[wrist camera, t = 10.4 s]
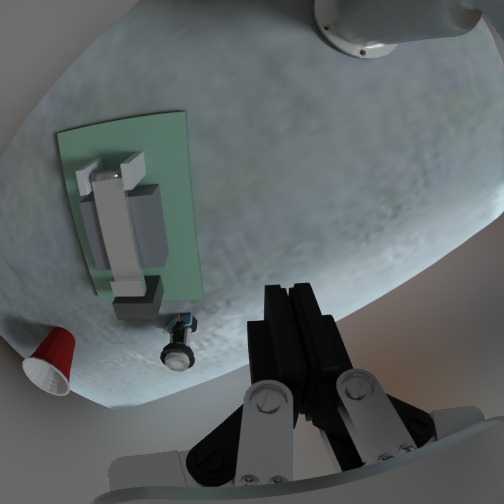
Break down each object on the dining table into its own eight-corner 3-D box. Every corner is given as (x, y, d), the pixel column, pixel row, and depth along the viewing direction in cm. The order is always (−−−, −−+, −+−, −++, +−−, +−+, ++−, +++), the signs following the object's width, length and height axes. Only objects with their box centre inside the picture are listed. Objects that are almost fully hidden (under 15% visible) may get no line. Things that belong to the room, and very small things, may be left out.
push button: (172, 335, 52) (166, 379, 43) (155, 317, 49) (145, 361, 40) (203, 324, 51) (200, 369, 42) (187, 304, 48) (181, 349, 39)
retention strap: (92, 172, 30) (85, 177, 28) (125, 167, 30) (119, 172, 29) (119, 288, 38) (115, 298, 36) (148, 288, 38) (144, 297, 37)
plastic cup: (85, 327, 50) (65, 374, 39) (87, 358, 55) (72, 402, 44) (40, 310, 47) (16, 353, 37) (46, 343, 52) (27, 383, 42)
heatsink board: (62, 131, 32) (30, 144, 25) (186, 110, 33) (175, 115, 26) (102, 295, 46) (88, 328, 39) (203, 293, 47) (201, 329, 40)
